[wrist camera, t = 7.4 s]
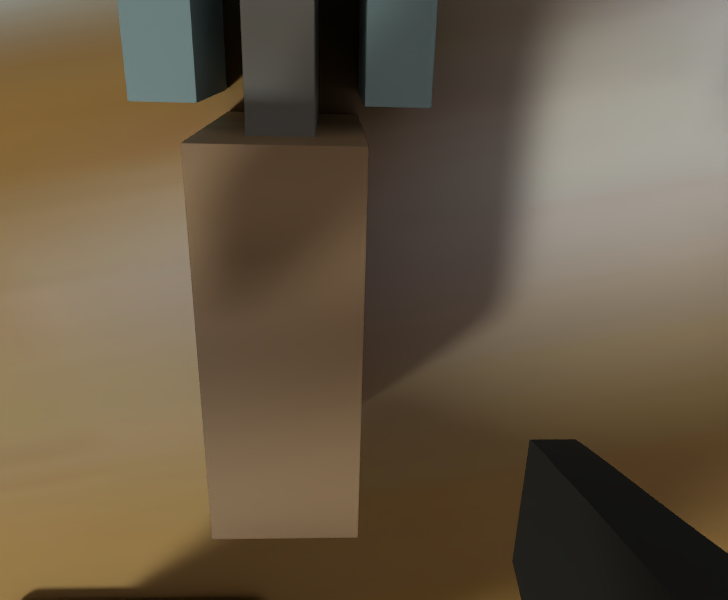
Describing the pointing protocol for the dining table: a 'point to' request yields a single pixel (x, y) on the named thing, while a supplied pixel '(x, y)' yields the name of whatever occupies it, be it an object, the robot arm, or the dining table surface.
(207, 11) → the grey boxy pieces
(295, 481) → the rail
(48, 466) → the dining table surface
